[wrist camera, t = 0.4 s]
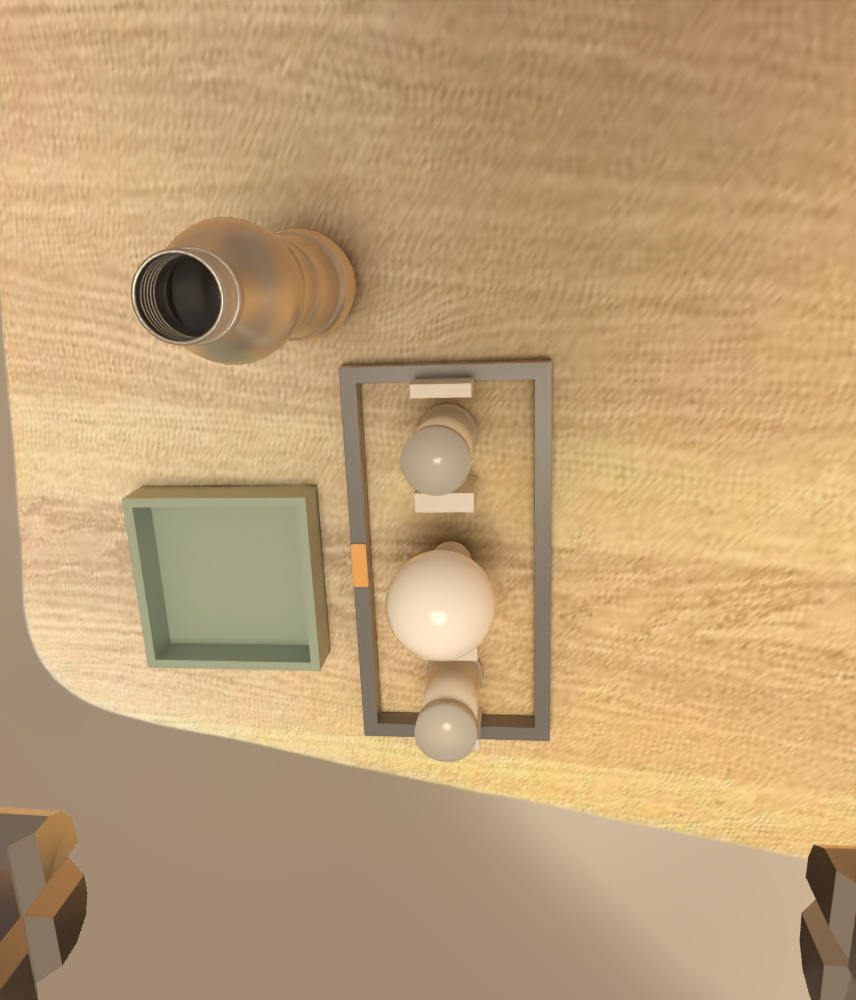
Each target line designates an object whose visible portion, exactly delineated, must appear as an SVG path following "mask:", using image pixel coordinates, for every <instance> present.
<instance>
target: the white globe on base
mask: <svg viewBox="0 0 856 1000" xmlns="http://www.w3.org/2000/svg"><path fill="white" fill-rule="evenodd" d="M477 435H478V430H477V425H476V422H475V420H474V418H473V416H472V415H471V414H470V413H469V412H468V411H467V410H466V409H465V408H463V407H461V406H459V405H456V404H451V403H444V404H439V405H436V406H434V407H432V408H431V409H430V410H428V411H427V412H426V413H425V415H424V416H423V418H422V419H421V421H420V423H419V425H418V429H417V430H416V432H415V433H414V434H413V435H412V436H411V437H410V438H409V440H408V441H407V443H406V445H405V446H404V448H403V451H402V455H401V468H402V472H403V474H404V476H405V478H406V480H407V481H408V483H409V484H410V485H411V486H412V487H413V488H414V489H416V490H417V491H419V492H421V493H423V494H426V495H431V496H442V495H446V494H449V493H451V492H454V491H455V490H457V489H458V488H459V487H460V486H461V485H462V484H463V483H464V481H465V480H466V478H467V476H468V473H469V470H470V465H471V454H472V451H473V449H474V447H475V445H476V441H477Z"/></svg>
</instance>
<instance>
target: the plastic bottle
mask: <svg viewBox="0 0 856 1000" xmlns="http://www.w3.org/2000/svg"><path fill="white" fill-rule="evenodd" d="M355 293H356V279H355V275H354V270H353V268H352V266H351V263H350V261H349V259H348V258H347V256H346V255H345V253H344V252H343V251H342V249H341V248H340V247H339V246H338V245H337V244H336V243H335V242H334V241H332V240H331V239H329V238H328V237H326V236H325V235H323V234H321V233H318V232H316V231H313V230H308V229H303V228H295V229H287V230H282V231H279V232H276V233H271V232H270V231H268V230H267V229H265V228H263V227H261V226H259V225H256V224H254V223H251V222H249V221H246V220H242V219H237V218H232V217H216V218H211V219H207V220H202V221H200V222H198V223H196V224H194V225H192V226H190V227H188V228H187V229H186V230H184V231H183V232H182V233H180V234H179V235H178V236H177V237H175V238H174V239H173V241H172V242H171V243H170V244H169V245H168V246H167V247H166V249H165V250H162V251H159V252H157V253H155V254H153V255H151V256H150V257H148V258H147V259H146V260H144V262H143V263H142V264H141V265H140V266H139V267H138V269H137V271H136V273H135V275H134V278H133V281H132V287H131V299H132V305H133V308H134V312H135V314H136V316H137V318H138V320H139V321H140V322H141V324H142V325H143V326H144V328H145V329H146V330H147V331H148V332H149V333H151V334H152V335H153V336H155V337H156V338H158V339H160V340H162V341H164V342H167V343H170V344H175V345H182V346H183V347H185V348H186V349H188V350H189V351H191V352H192V353H194V354H196V355H198V356H200V357H202V358H205V359H207V360H210V361H212V362H216V363H221V364H226V365H242V364H247V363H253V362H255V361H258V360H260V359H263V358H265V357H267V356H269V355H270V354H272V353H273V352H275V351H276V350H278V349H279V348H281V347H282V346H283V345H284V344H285V343H286V342H287V341H288V340H289V341H296V342H308V341H313V340H318V339H320V338H323V337H325V336H327V335H329V334H330V333H332V332H333V331H335V330H336V329H337V328H338V327H339V326H340V325H341V324H342V323H343V322H344V321H345V319H346V317H347V316H348V314H349V313H350V310H351V308H352V305H353V303H354V299H355Z"/></svg>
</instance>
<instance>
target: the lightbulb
mask: <svg viewBox="0 0 856 1000" xmlns="http://www.w3.org/2000/svg"><path fill="white" fill-rule="evenodd" d="M386 614H387V619H388V622H389V625H390V627H391V630H392V632H393V633H394V635H395V637H396V638H397V639H398V641H399V642H400V643H401V644H402V645H403V646H404V647H405V648H406V649H408V650H409V651H410V652H412V653H413V654H415V655H417V656H419V657H422V658H425V659H428V660H433V661H449V660H454V659H458V658H460V657H463V656H465V655H467V654H469V653H470V652H472V651H473V650H475V649H476V648H477V647H478V646H479V645H480V644H481V643H482V642H483V641H484V640H485V638H486V637H487V635H488V634H489V632H490V630H491V628H492V626H493V623H494V619H495V614H496V597H495V592H494V588H493V586H492V583H491V581H490V579H489V577H488V576H487V574H486V573H485V571H484V570H483V569H482V568H481V567H480V566H479V565H478V564H477V563H476V562H475V561H474V560H472V559H471V556H470V553H469V551H468V550H467V549H466V548H465V547H464V546H463V545H462V544H460V543H457V542H452V541H449V542H444V543H442V544H440V545H438V546H437V547H436V548H435V549H434V550H432V551H427V552H424V553H421V554H419V555H417V556H415V557H413V558H411V559H410V560H408V561H407V562H406V563H405V564H404V565H403V566H402V567H401V568H400V569H399V570H398V571H397V573H396V574H395V576H394V577H393V579H392V581H391V583H390V586H389V588H388V592H387V597H386Z"/></svg>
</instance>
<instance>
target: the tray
mask: <svg viewBox="0 0 856 1000" xmlns="http://www.w3.org/2000/svg"><path fill="white" fill-rule="evenodd" d="M122 502H123V509H124V515H125V521H126V528H127V534H128V541H129V547H130V554H131V560H132V566H133V573H134V579H135V586H136V592H137V598H138V605H139V611H140V618H141V624H142V630H143V637H144V643H145V650H146V656H147V663H148V667H153V668H202V669H251V670H300V671H320V670H321V668H322V666H323V664H324V662H325V660H326V658H327V656H328V654H329V652H330V640H329V628H328V615H327V603H326V591H325V579H324V567H323V554H322V542H321V530H320V518H319V506H318V493H317V485H238V486H143V487H141V488H139V489H138V490H136V491H134V492H132V493H131V494H129V495H127V496H126V497H124V498H122Z"/></svg>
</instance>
